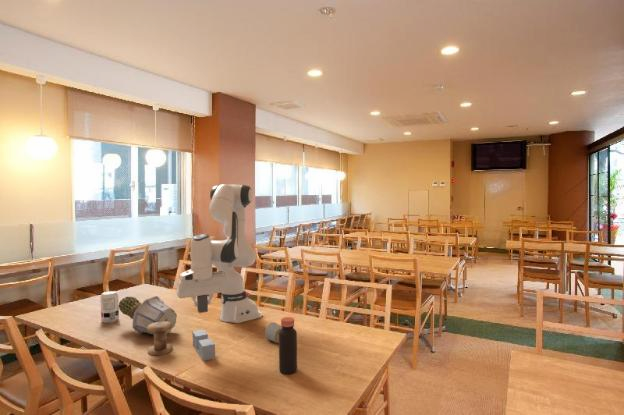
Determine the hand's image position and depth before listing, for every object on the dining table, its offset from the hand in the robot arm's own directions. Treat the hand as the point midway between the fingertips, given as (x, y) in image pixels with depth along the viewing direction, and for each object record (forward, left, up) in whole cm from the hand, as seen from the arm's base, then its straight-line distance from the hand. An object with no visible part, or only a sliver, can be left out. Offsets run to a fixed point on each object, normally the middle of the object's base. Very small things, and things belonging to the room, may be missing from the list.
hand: (202, 305), depth 162 cm
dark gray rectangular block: (0, 0, -3) cm, 3 cm away
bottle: (-24, +34, -20) cm, 46 cm away
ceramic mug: (-33, +5, -20) cm, 39 cm away
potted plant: (+19, -37, -20) cm, 46 cm away
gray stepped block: (0, 0, -20) cm, 20 cm away
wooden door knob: (+16, -10, -20) cm, 27 cm away
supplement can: (+34, -63, -20) cm, 74 cm away
